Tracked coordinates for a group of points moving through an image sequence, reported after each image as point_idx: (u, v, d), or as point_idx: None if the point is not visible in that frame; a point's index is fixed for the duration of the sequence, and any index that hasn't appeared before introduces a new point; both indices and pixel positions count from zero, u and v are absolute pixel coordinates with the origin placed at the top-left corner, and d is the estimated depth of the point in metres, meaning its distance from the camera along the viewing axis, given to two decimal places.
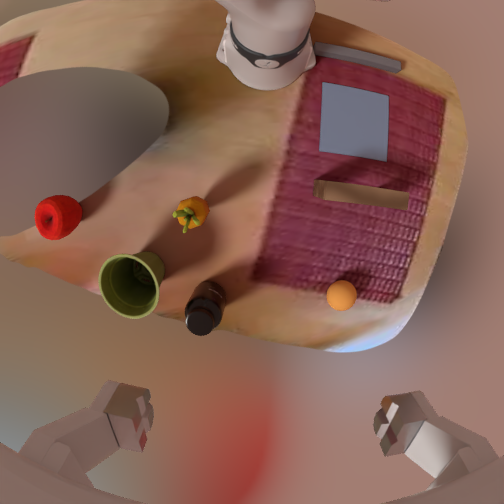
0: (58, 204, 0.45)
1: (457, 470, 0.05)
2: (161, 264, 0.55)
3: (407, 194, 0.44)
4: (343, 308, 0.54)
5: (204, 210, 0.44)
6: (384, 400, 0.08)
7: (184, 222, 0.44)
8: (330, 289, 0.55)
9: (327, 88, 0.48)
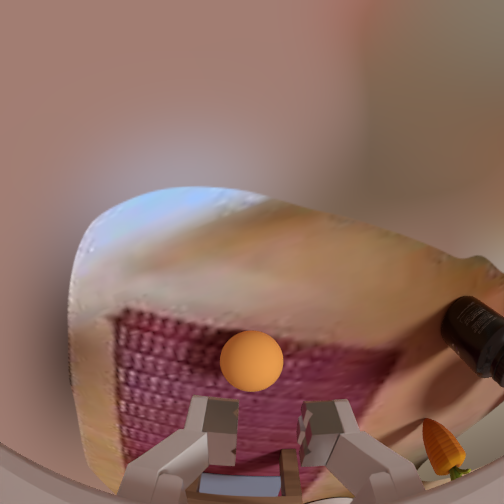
0: None
1: (367, 497, 0.05)
2: None
3: None
4: (252, 362, 0.24)
5: (438, 470, 0.24)
6: (303, 406, 0.08)
7: (461, 460, 0.23)
8: None
9: None
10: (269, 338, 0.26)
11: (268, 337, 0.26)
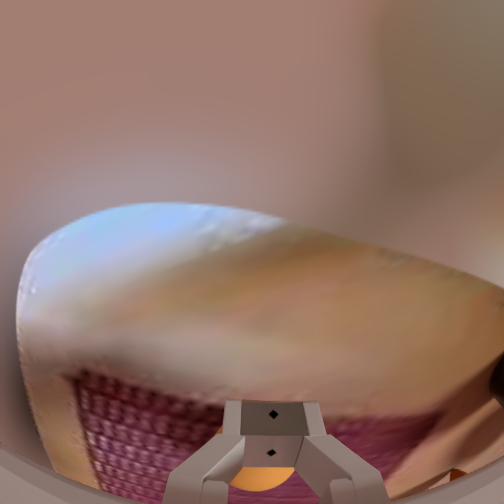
0: None
1: None
2: None
3: None
4: None
5: None
6: None
7: None
8: None
9: None
10: None
11: None
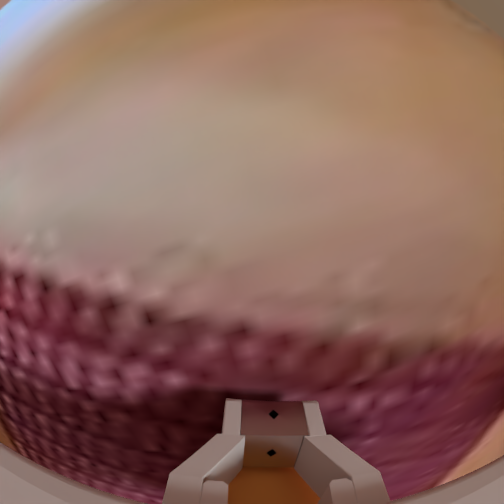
0: None
1: None
2: None
3: None
4: None
5: None
6: None
7: None
8: None
9: None
10: None
11: None
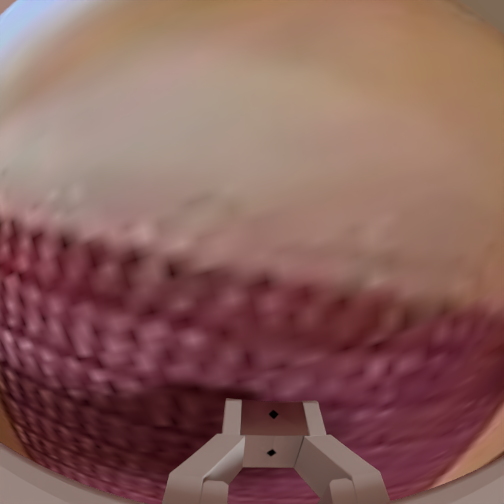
0: None
1: None
2: None
3: None
4: None
5: None
6: None
7: None
8: None
9: None
10: None
11: None
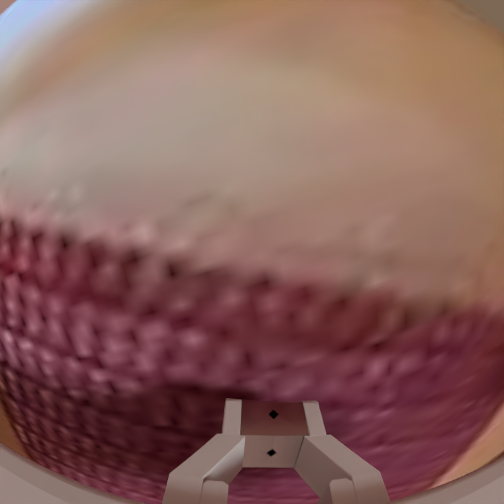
0: None
1: None
2: None
3: None
4: None
5: None
6: None
7: None
8: None
9: None
10: None
11: None
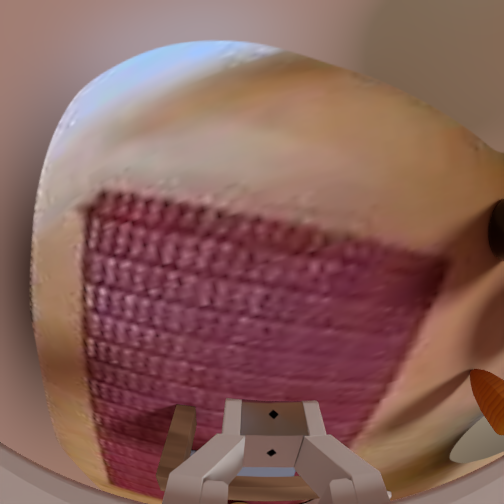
0: None
1: None
2: None
3: (164, 489, 0.18)
4: None
5: (500, 428, 0.17)
6: None
7: None
8: None
9: None
10: None
11: None
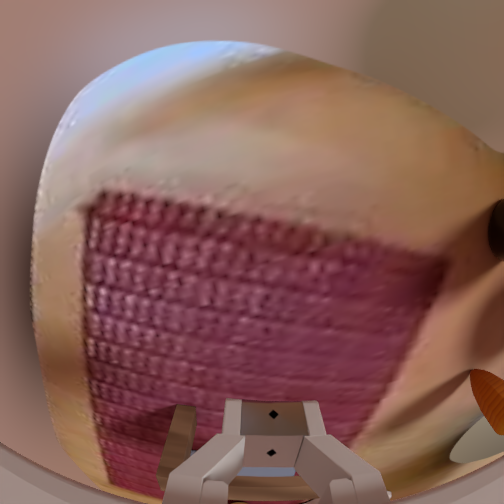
0: None
1: None
2: None
3: (164, 489, 0.18)
4: None
5: (500, 427, 0.17)
6: None
7: None
8: None
9: None
10: None
11: None
